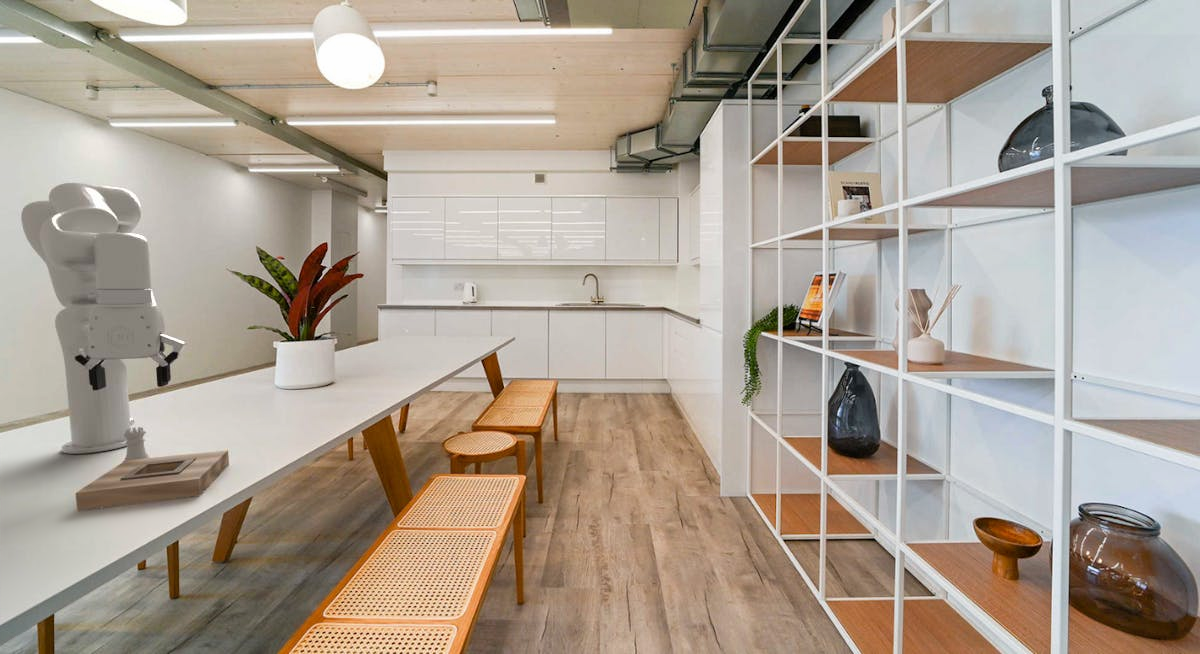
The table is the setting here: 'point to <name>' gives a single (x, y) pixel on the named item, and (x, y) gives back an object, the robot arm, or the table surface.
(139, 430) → the rook chess piece
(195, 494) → the walnut board
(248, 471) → the table surface
